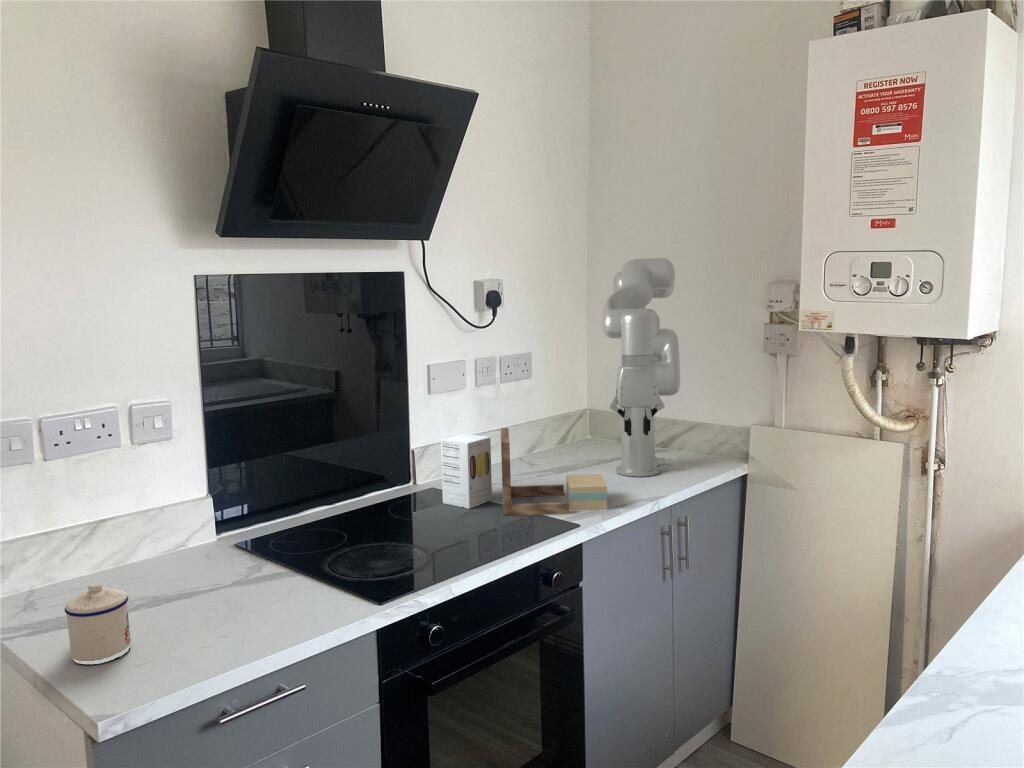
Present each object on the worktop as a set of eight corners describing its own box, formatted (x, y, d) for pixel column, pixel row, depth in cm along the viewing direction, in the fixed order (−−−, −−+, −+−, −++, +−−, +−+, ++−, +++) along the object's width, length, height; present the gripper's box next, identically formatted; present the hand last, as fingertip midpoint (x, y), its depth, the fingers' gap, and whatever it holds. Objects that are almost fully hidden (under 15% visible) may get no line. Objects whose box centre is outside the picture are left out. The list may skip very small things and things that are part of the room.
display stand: (563, 493, 218) (562, 426, 215) (569, 513, 200) (568, 440, 198) (502, 495, 217) (500, 428, 215) (503, 515, 200) (501, 442, 198)
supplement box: (469, 509, 206) (467, 443, 204) (441, 504, 212) (439, 439, 209) (493, 500, 214) (491, 436, 211) (466, 495, 219) (463, 432, 217)
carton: (601, 496, 215) (601, 473, 214) (607, 510, 203) (606, 486, 202) (566, 497, 215) (566, 475, 214) (570, 511, 203) (569, 487, 202)
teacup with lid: (142, 652, 133) (135, 583, 132) (82, 673, 127) (74, 600, 125) (113, 630, 142) (106, 565, 140) (55, 649, 135) (47, 581, 134)
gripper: (667, 358, 208) (667, 430, 211) (601, 360, 208) (602, 432, 211) (673, 362, 201) (673, 436, 203) (605, 364, 200) (606, 438, 203)
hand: (637, 433), depth 207 cm, fingers open, 3 cm apart
